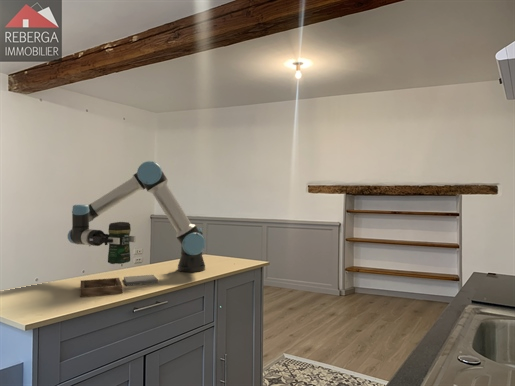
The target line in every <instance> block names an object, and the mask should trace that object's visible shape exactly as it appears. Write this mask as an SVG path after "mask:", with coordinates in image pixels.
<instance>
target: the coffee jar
mask: <svg viewBox="0 0 515 386" xmlns="http://www.w3.org/2000/svg"><path fill="white" fill-rule="evenodd" d="M131 231H132V230H131V224H130V222H127V221H126V222H125V221H117V222H110V223H109V225H108V234H109V237H112V238H120V244H108V252H107V253H108V254H107V263H108V264H110V265H115V264H116V265H117V264H118V265H120V264H121V265H122V264H126V263H129V262H131V248H130V246H131V245H130V242H129V236H131Z"/></svg>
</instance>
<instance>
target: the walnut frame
mask: <svg viewBox="0 0 515 386" xmlns="http://www.w3.org/2000/svg"><path fill="white" fill-rule="evenodd" d="M79 289H80V290H79V293H80V295H79V297H80V298H83V297H84V298H85V296H86V297H95V296H105V295H106V296H107V295H116V294H123V284H122V281H121V280H120V277H111V278H110V277H107V278H98V279H97V278H96V279H83V280H81V279H80V288H79Z"/></svg>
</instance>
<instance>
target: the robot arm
mask: <svg viewBox="0 0 515 386" xmlns="http://www.w3.org/2000/svg"><path fill="white" fill-rule="evenodd" d="M140 190H146V191H147V192H148V193H150V194H152V196H153V197H154V198H155V200H156V201H157V203H158V205H159V206H160V207H161V210H162V211H163V212H164V214H165V216H166V217H167V219H168V221H169V222H170V224H171V226H172V227H173V228H174V230H175V231H176V235H175V237H176V238H177V240H178V242H179V245H180V258H179V261H178V264H177V271H179V272H183V273H184V272H185V273H195V272H196V273H197V272H202V271H205V270H206V263H205V260H204V258H203V251H204V250H205V247H206V239H205V237H204V236H203V229H202V228H201V227H198V226H197V225H196V224H194V223H192V222H191V221H190V219H189V217H188V216H187V215H186V213H185V211H184V210H183V208H182V206H181V205H180V202H179V201H178V199H177V198H176V197H175V195H174V193H173V192H172V190H171V189H170V187H169V185H168V178H167V176H166V175H165V173H164V172H163V170H162V168H161V166H160V164H159V163H157V162H155V161H152V160H147V161H144V162H142V163H141V164H140V165H139V166H138V168H137V172H136V173H134V174H133V175H132V177H131V178H130V179H128V180H126V181H125V182H122V184H120V185H119V186H117V187H115V188H113V189H112V190H110V191H109V192H108V193H106V194H104V195H103V196H101V197H99V198H98V199H95V200H94V201H93V202H91V203H90V204H73V205H72V210H71V214H72V217H71V218H72V219H71V222H72V223H71V225H72V227H71V229H70V230H69V231H68V232H67V239H68V241H69V242H70V243H71V244H75V245H85V246H88V247H91V246H94V247H99V246H101V245H103V244H104V246H109V244H120V238H112V237H109V233H105V232H104V231H103V230H101V229H93V228H92V229H91V228H90V222H92V221H93V220H95V219H96V218H98V217H99V216H100V215H102V214H103V213H105V212H107V211H108V210H111V208H114V206H116V205H118V204H120V203H121V202H122V201H124V200H126V199H128V198H129V197H131V196H133V195H134V194H136V193H137V192H138V191H140ZM129 243H136V236H134V235H129Z"/></svg>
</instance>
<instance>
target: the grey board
mask: <svg viewBox="0 0 515 386" xmlns="http://www.w3.org/2000/svg"><path fill="white" fill-rule="evenodd" d="M123 281H124V283H125V285H126V286H137V285H151V284H158V283H159V279H158V278H157V277H156V276H155V275H154V274H144V275H142V274H141V275H132V276H131V275H129V276H123Z"/></svg>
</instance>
